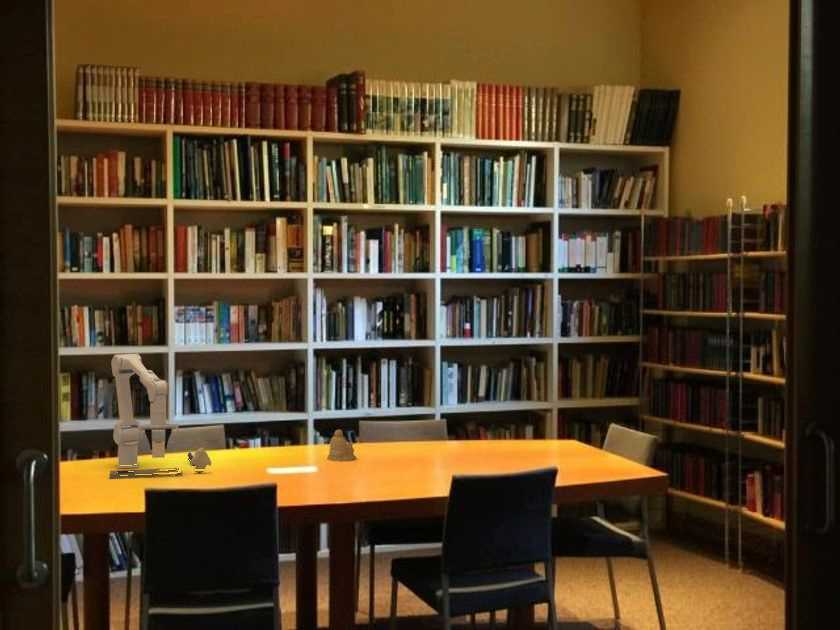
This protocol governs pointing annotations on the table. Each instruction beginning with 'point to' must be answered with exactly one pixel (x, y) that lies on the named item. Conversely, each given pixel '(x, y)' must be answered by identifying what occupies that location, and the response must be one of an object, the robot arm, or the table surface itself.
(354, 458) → the statue
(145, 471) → the grey slotted panel
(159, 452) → the wood-topped square block
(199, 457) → the arrowhead
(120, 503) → the table surface
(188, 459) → the dark labeled box
